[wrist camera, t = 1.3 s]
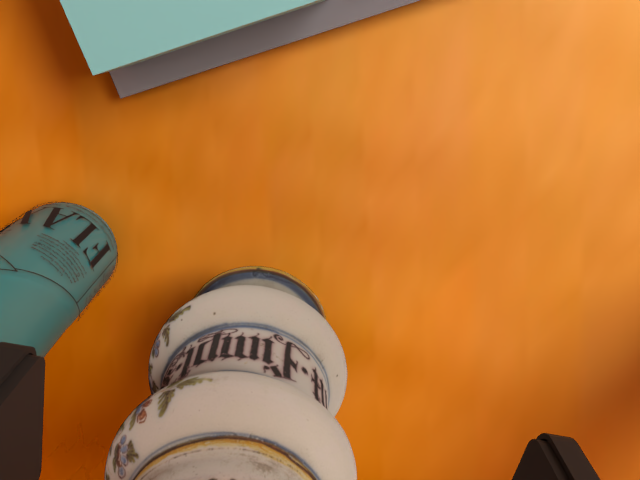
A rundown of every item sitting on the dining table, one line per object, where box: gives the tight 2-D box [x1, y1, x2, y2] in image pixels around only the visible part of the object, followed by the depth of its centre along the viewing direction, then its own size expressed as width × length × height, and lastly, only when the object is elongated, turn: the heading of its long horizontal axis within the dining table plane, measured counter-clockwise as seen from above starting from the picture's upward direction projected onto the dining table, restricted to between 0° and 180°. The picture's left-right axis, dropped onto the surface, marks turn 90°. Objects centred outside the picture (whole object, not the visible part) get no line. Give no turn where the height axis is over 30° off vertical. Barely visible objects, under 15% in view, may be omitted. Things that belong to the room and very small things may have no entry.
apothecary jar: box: [105, 266, 357, 480], centre depth 31 cm, size 12×12×18 cm
